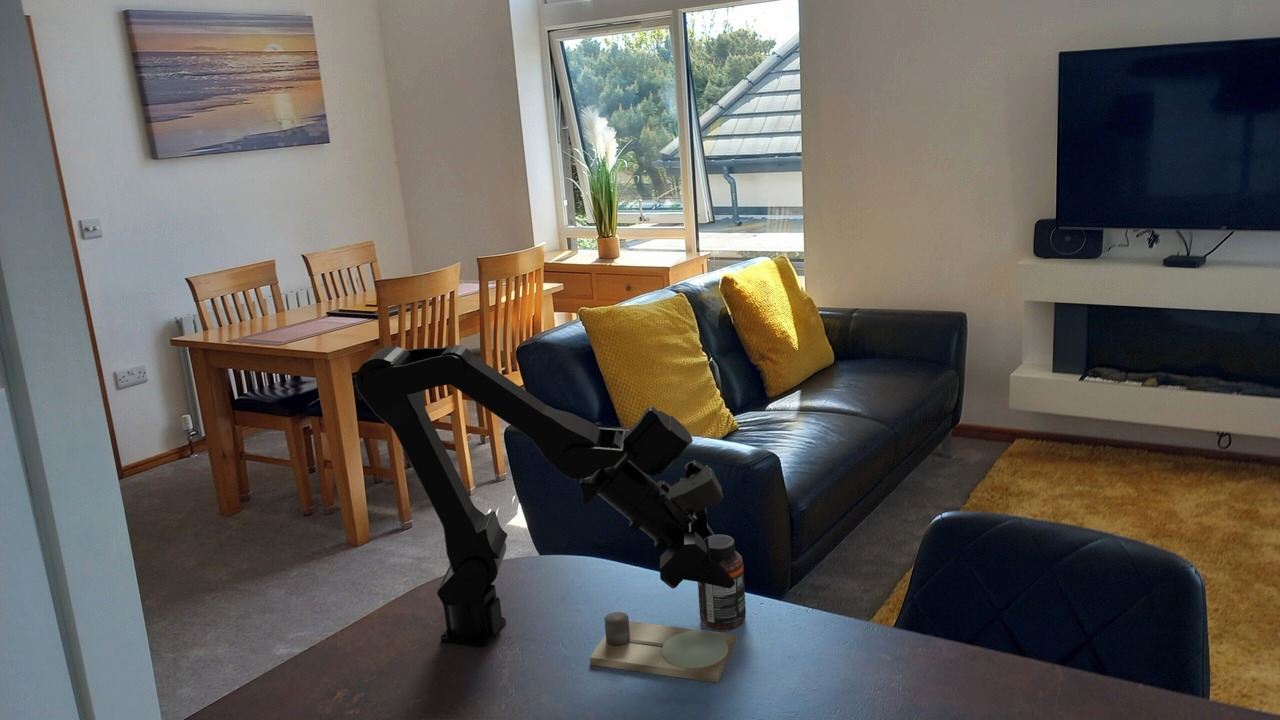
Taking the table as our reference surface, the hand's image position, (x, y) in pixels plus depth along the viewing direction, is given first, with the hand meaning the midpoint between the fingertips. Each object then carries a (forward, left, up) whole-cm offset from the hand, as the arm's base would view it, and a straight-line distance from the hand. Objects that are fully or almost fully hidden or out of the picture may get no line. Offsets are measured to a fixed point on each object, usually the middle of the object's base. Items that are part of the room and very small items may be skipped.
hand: (731, 573), depth 125 cm
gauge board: (-6, -9, -7) cm, 13 cm away
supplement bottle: (-1, 0, -7) cm, 7 cm away
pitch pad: (-2, -9, -7) cm, 12 cm away
